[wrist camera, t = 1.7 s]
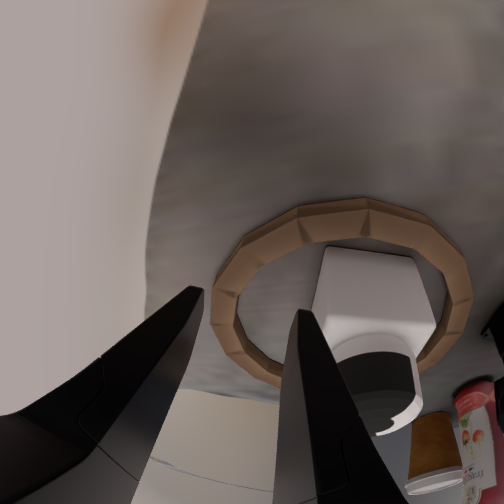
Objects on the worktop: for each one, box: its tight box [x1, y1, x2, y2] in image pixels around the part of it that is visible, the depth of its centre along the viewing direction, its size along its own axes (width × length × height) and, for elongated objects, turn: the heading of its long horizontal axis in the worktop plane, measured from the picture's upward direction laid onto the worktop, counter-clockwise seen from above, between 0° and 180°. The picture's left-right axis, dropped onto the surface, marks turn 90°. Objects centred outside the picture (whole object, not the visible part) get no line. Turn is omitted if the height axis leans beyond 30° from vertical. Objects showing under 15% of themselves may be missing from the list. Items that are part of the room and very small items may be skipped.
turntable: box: [210, 198, 474, 388], centre depth 24 cm, size 23×23×6 cm
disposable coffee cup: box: [405, 412, 463, 495], centre depth 32 cm, size 10×10×12 cm
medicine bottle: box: [311, 246, 436, 437], centre depth 19 cm, size 7×7×12 cm
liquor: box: [453, 380, 504, 504], centre depth 20 cm, size 7×7×28 cm
